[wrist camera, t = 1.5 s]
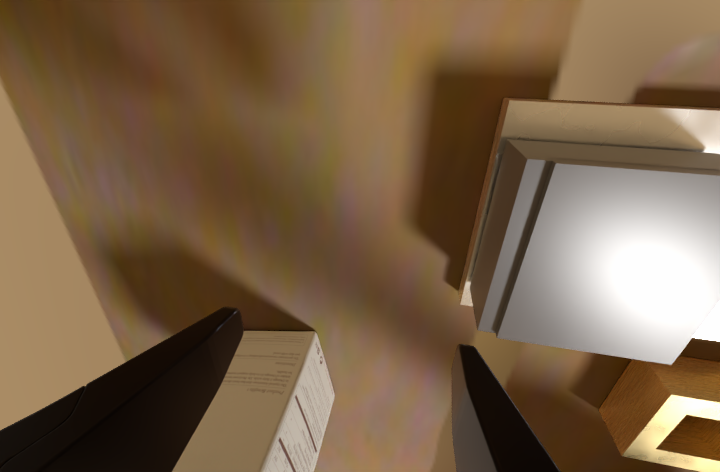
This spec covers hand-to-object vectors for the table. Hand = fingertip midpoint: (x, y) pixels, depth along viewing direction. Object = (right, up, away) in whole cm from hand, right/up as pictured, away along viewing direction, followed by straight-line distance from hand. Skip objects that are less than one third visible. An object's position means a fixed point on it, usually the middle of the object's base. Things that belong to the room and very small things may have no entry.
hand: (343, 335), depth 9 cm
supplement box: (-5, -7, +17) cm, 19 cm away
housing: (+10, +3, +6) cm, 12 cm away
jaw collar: (+20, -7, +11) cm, 24 cm away
